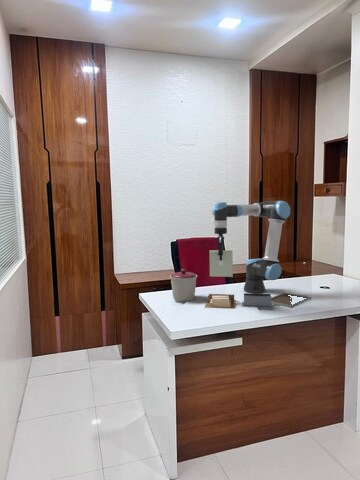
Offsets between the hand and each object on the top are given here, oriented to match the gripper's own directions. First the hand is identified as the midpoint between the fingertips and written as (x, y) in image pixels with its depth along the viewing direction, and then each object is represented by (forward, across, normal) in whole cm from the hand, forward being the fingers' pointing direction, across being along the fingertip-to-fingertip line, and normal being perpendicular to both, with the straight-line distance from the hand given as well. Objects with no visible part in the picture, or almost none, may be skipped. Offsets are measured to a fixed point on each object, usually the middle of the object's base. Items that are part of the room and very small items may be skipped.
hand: (221, 265), depth 220 cm
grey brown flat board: (+26, -12, +41) cm, 50 cm away
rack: (+25, +4, 0) cm, 25 cm away
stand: (+25, +4, +22) cm, 33 cm away
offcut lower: (+23, +8, 0) cm, 25 cm away
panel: (+7, 0, 0) cm, 7 cm away
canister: (+25, -6, -25) cm, 36 cm away
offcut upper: (+21, +8, 0) cm, 22 cm away
